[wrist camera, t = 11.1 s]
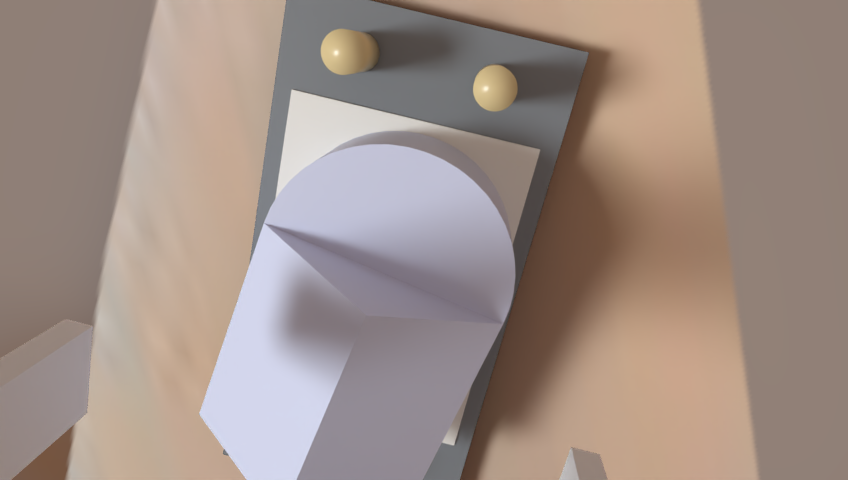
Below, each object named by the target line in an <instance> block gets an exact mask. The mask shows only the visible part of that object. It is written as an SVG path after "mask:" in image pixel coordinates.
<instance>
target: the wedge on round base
mask: <svg viewBox="0 0 848 480" xmlns="http://www.w3.org/2000/svg"><path fill="white" fill-rule="evenodd" d="M514 285H515V258H514V251H513V245H512V239H511V232H510V227H509V221H508V216H507V213H506V210H505V207H504V204H503V201H502V199H501V197H500V195H499V193H498V191H497V190H496V188H495V186H494V185H493V183H492V182H491V180H490V179H489V178H488V176H487V175H486V174H485V172H484V171H483V170H482V169H481V168H480V167H479V166H478V165H477V164H476V163H475V162H474V161H473V160H472V159H470V158H469V157H468V156H467V155H465V154H464V153H463V152H461V151H460V150H458V149H456V148H455V147H453V146H451V145H450V144H448V143H445V142H443V141H441V140H439V139H436V138H434V137H430V136H427V135H423V134H420V133H414V132H406V131H382V132H376V133H369V134H366V135H363V136H359V137H356V138H353V139H351V140H349V141H347V142H345V143H342V144H340V145H339V146H337V147H336V148H334V149H333V150H331V151H330V152H328V153H327V154H325V155H323V156H322V157H320V158H319V159H317V160H316V161H314V162H313V163H311V164H310V165H308V166H307V167H305V168H304V169H302V170H301V171H300V172H299V173H298V174H297V175H296V176H294V177H293V178H292V179H291V180H290V181H289V182H288V183H287V185H286V186H285V187H284V188H283V189H282V191H281V192H280V193H279V194H278V196H277V198H276V199H275V201H274V203H273V204H272V206H271V207H270V210H269V212H268V214H267V217H266V219H265V221H264V224H263V227H262V230H261V233H260V236H259V239H258V242H257V245H256V248H255V251H254V254H253V257H252V260H251V262H250V265H249V268H248V271H247V274H246V277H245V280H244V283H243V286H242V289H241V292H240V295H239V298H238V301H237V304H236V307H235V310H234V313H233V316H232V319H231V322H230V325H229V328H228V331H227V334H226V336H225V339H224V342H223V345H222V348H221V351H220V354H219V357H218V360H217V363H216V366H215V369H214V372H213V375H212V378H211V381H210V384H209V387H208V390H207V393H206V396H205V399H204V402H203V405H202V408H201V410H200V413H199V415H200V416H201V417H202V419H203V420H204V421H205V423H206V424H207V426H208V427H209V428H210V430H211V431H212V433H213V434H214V435H215V437H216V438H217V439H218V441H219V442H220V444H221V445H222V446H223V448H224V449H225V451H226V452H227V453H228V455H229V456H230V457H231V459H232V460H233V462H234V463H235V464H236V466H237V467H238V468H239V470H240V471H241V473H242V474H243V475H244V477H245V478H246V480H423V478H424V476H425V474H426V472H427V470H428V469H429V467H430V465H431V463H432V461H433V459H434V457H435V455H436V453H437V451H438V449H439V447H440V445H441V443H442V441H443V440H444V438H445V436H446V434H447V432H448V430H449V428H450V426H451V424H452V422H453V420H454V418H455V416H456V414H457V412H458V410H459V409H460V407H461V405H462V403H463V401H464V399H465V397H466V395H467V393H468V391H469V389H470V387H471V385H472V383H473V381H474V380H475V378H476V376H477V374H478V372H479V370H480V368H481V366H482V364H483V362H484V360H485V358H486V356H487V354H488V352H489V351H490V349H491V347H492V345H493V343H494V341H495V339H496V337H497V335H498V333H499V331H500V329H501V327H502V325H503V323H504V321H505V319H506V316H507V314H508V312H509V309H510V305H511V301H512V298H513V294H514Z"/></svg>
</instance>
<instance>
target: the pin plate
mask: <svg viewBox="0 0 848 480" xmlns="http://www.w3.org/2000/svg"><path fill="white" fill-rule="evenodd" d="M588 54H589V53H588V52H584V51H580V50H576V49H572V48H567V47H563V46H559V45H555V44H551V43H546V42H542V41H538V40H534V39H530V38H526V37H521V36H517V35H513V34H509V33H505V32H500V31H496V30H492V29H488V28H484V27H479V26H475V25H471V24H467V23H463V22H458V21H454V20H450V19H446V18H442V17H438V16H433V15H429V14H425V13H421V12H417V11H412V10H408V9H404V8H400V7H396V6H391V5H387V4H383V3H379V2H375V1H370V0H286V6H285V13H284V20H283V27H282V35H281V42H280V49H279V56H278V63H277V71H276V78H275V85H274V92H273V99H272V106H271V114H270V121H269V128H268V135H267V142H266V150H265V157H264V164H263V171H262V178H261V186H260V193H259V200H258V207H257V214H256V221H255V229H254V236H253V243H252V250H251V257H250V262H251V260H252V257H253V254H254V251H255V248H256V245H257V242H258V239H259V236H260V233H261V230H262V227H263V224H264V221H265V219H266V217H267V214H268V212H269V210H270V207H271V206H272V204H273V203H274V201H275V199H276V198H277V196H278V194H279V193H280V192H281V191H282V189H283V188H284V187H285V186H286V185H287V183H288V182H289V181H290V180H291V179H292V178H293V177H294V176H296V175H297V174H298V173H299V172H300V171H301V170H302V169H304V168H305V167H307V166H308V165H310V164H311V163H313V162H314V161H316V160H317V159H319V158H320V157H322V156H323V155H325V154H327V153H328V152H330V151H331V150H333V149H334V148H336V147H337V146H339V145H340V144H342V143H345V142H347V141H349V140H351V139H353V138H356V137H359V136H363V135H366V134H369V133H376V132H382V131H406V132H414V133H420V134H423V135H427V136H430V137H434V138H436V139H439V140H441V141H443V142H445V143H448V144H450V145H451V146H453V147H455V148H456V149H458V150H460V151H461V152H463V153H464V154H465V155H467V156H468V157H469V158H470V159H472V160H473V161H474V162H475V163H476V164H477V165H478V166H479V167H480V168H481V169H482V170H483V171H484V172H485V174H486V175H487V176H488V178H489V179H490V180H491V182H492V183H493V185H494V186H495V188H496V190H497V191H498V193H499V195H500V197H501V199H502V201H503V204H504V207H505V210H506V213H507V216H508V221H509V227H510V232H511V239H512V245H513V251H514V258H515V285H514V294H513V298H512V301H511V305H510V309H509V312H508V314H507V316H506V319H505V321H504V323H503V325H502V327H501V329H500V331H499V333H498V335H497V337H496V339H495V341H494V343H493V345H492V347H491V349H490V351H489V352H488V354H487V356H486V358H485V360H484V362H483V364H482V366H481V368H480V370H479V372H478V374H477V376H476V378H475V380H474V381H473V383H472V385H471V387H470V389H469V391H468V393H467V395H466V397H465V399H464V401H463V403H462V405H461V407H460V409H459V410H458V412H457V414H456V416H455V418H454V420H453V422H452V424H451V426H450V428H449V430H448V432H447V434H446V436H445V438H444V440H443V441H442V443H441V445H440V447H439V449H438V451H437V453H436V455H435V457H434V459H433V461H432V463H431V465H430V467H429V469H428V470H427V472H426V474H425V476H424V478H423V480H460V477H461V474H462V470H463V467H464V464H465V461H466V457H467V454H468V451H469V447H470V444H471V441H472V437H473V434H474V431H475V427H476V424H477V421H478V418H479V414H480V411H481V408H482V404H483V401H484V398H485V394H486V391H487V388H488V385H489V381H490V378H491V375H492V371H493V368H494V365H495V361H496V358H497V355H498V352H499V348H500V345H501V342H502V338H503V335H504V332H505V328H506V325H507V322H508V319H509V315H510V312H511V309H512V305H513V302H514V299H515V295H516V292H517V289H518V286H519V282H520V279H521V276H522V272H523V269H524V266H525V262H526V259H527V256H528V253H529V249H530V246H531V243H532V239H533V236H534V233H535V229H536V226H537V223H538V219H539V216H540V213H541V210H542V206H543V203H544V200H545V196H546V193H547V190H548V186H549V183H550V180H551V177H552V173H553V170H554V167H555V163H556V160H557V157H558V153H559V150H560V147H561V144H562V140H563V137H564V134H565V130H566V127H567V124H568V120H569V117H570V114H571V111H572V107H573V104H574V101H575V97H576V94H577V91H578V87H579V84H580V81H581V78H582V74H583V71H584V68H585V64H586V61H587V58H588ZM223 454H224V455H228V453H227V452H226V451H225V449H224V451H223ZM228 456H229V455H228Z"/></svg>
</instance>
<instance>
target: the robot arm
mask: <svg viewBox="0 0 848 480" xmlns="http://www.w3.org/2000/svg"><path fill="white" fill-rule="evenodd" d="M92 330H93V326H91V325H87V324H83V323H79V322H75V321H71V320H67V319H65V320H63V321H61V322H60V323H58V324H56V325H55V326H53V327H52V328H50V329H48V330H46V331H45V332H43V333H42V334H40V335H38V336H37V337H35V338H33V339H32V340H30V341H28V342H27V343H25V344H23V345H22V346H20V347H18V348H17V349H15V350H13V351H12V352H10V353H8V354H7V355H6V356H3V357H2V358H0V480H11V479H12V478H13V477H14V476H15V475H17V474H18V473H19V472H20V471H21V470H23V469H24V468H25V467H26V466H27V465H28V464H29V463H30V462H32V461H33V460H34V459H35V458H36V457H37V456H38V455H40V454H41V453H42V452H43V451H44V450H45V449H46V448H47V447H49V446H50V445H51V444H52V443H53V442H54V441H56V440H57V439H58V438H59V437H60V436H61V435H62V434H63V433H65V432H66V431H67V430H68V429H69V428H70V427H71V426H73V425H74V424H75V423H76V422H77V421H78V420H79V419H81V418H82V417H83V416H84V415H85V414H86V413H87V405H88V390H89V375H90V360H91V345H92ZM560 480H608V479H607V476H606V473H605V470H604V467H603V463H602V460H601V457H600V454H596V453H592V452H588V451H584V450H580V449H576V448H573V447H571V449H570V452H569V455H568V458H567V460H566V463H565V466H564V469H563V472H562V474H561V477H560Z"/></svg>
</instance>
